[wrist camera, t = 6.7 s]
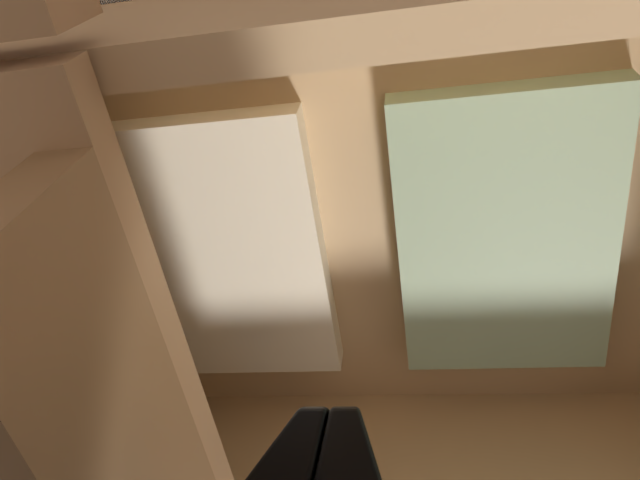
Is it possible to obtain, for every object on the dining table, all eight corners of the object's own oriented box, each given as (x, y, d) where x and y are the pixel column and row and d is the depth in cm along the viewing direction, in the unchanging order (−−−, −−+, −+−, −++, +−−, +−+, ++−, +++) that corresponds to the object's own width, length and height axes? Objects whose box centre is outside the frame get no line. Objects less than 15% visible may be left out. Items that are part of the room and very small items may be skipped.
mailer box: (790, -93, 9) (992, -66, 6) (677, 397, 14) (752, 548, 11) (-52, 25, 11) (-220, 87, 8) (118, 402, 16) (53, 524, 13)
